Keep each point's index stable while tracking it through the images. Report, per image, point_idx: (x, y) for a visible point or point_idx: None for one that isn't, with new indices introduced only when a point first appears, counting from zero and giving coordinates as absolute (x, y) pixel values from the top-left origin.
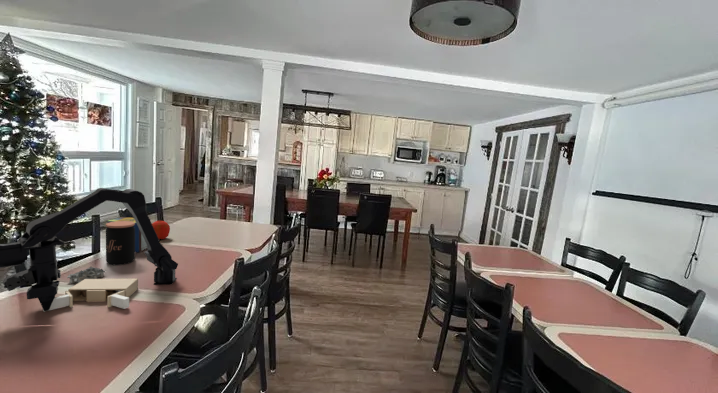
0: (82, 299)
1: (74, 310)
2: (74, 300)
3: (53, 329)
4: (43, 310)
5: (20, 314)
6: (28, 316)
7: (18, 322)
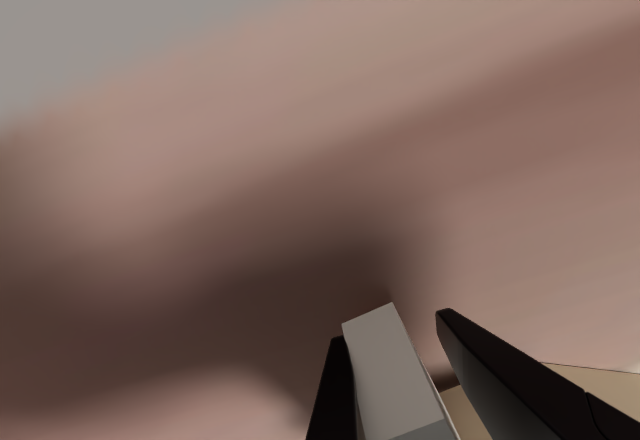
0: None
1: None
2: None
3: (35, 433)
4: (362, 318)
5: (430, 99)
6: (336, 200)
7: (199, 167)
